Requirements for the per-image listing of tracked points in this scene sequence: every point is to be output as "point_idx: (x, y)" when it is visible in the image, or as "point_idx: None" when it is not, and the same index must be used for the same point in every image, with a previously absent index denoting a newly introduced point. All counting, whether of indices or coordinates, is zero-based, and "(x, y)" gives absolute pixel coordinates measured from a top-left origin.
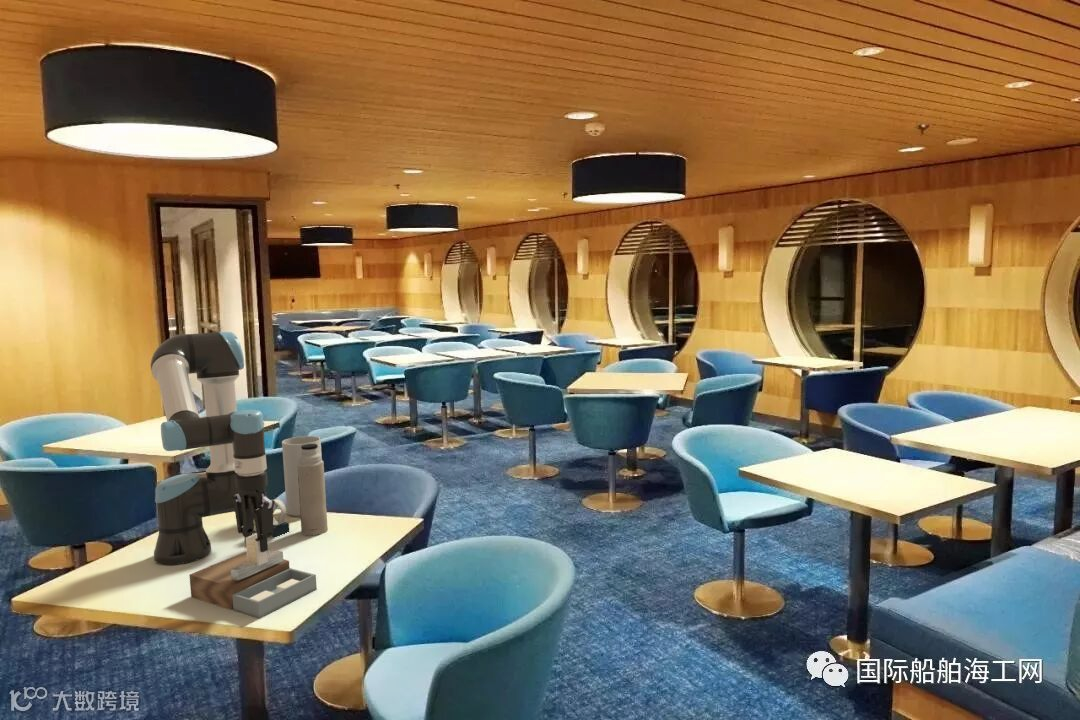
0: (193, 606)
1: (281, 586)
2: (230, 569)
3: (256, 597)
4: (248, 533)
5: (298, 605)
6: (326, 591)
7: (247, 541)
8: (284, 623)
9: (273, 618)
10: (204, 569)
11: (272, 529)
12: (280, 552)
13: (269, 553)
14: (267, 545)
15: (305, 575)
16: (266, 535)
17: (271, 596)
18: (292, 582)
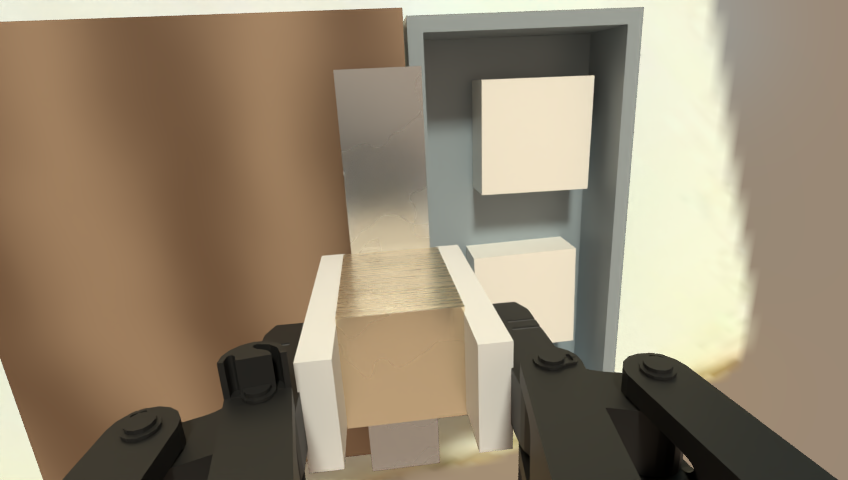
0: None
1: (511, 183)
2: (183, 326)
3: None
4: (300, 463)
5: (640, 196)
6: (661, 10)
7: (345, 442)
8: (699, 326)
9: (629, 325)
10: (37, 412)
11: (741, 422)
12: (419, 91)
13: (353, 157)
14: (538, 326)
15: (560, 28)
16: (685, 469)
17: (616, 327)
18: (525, 114)
